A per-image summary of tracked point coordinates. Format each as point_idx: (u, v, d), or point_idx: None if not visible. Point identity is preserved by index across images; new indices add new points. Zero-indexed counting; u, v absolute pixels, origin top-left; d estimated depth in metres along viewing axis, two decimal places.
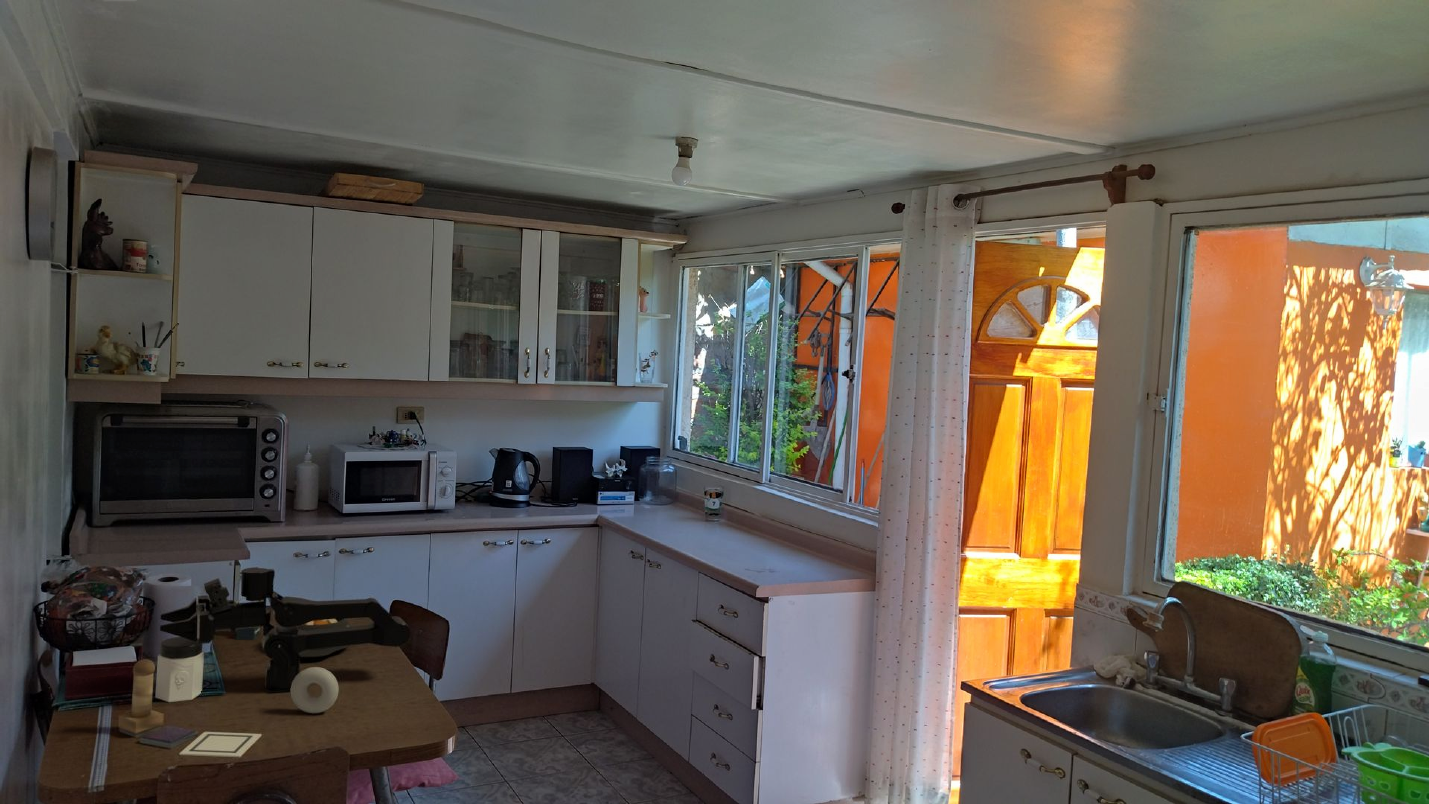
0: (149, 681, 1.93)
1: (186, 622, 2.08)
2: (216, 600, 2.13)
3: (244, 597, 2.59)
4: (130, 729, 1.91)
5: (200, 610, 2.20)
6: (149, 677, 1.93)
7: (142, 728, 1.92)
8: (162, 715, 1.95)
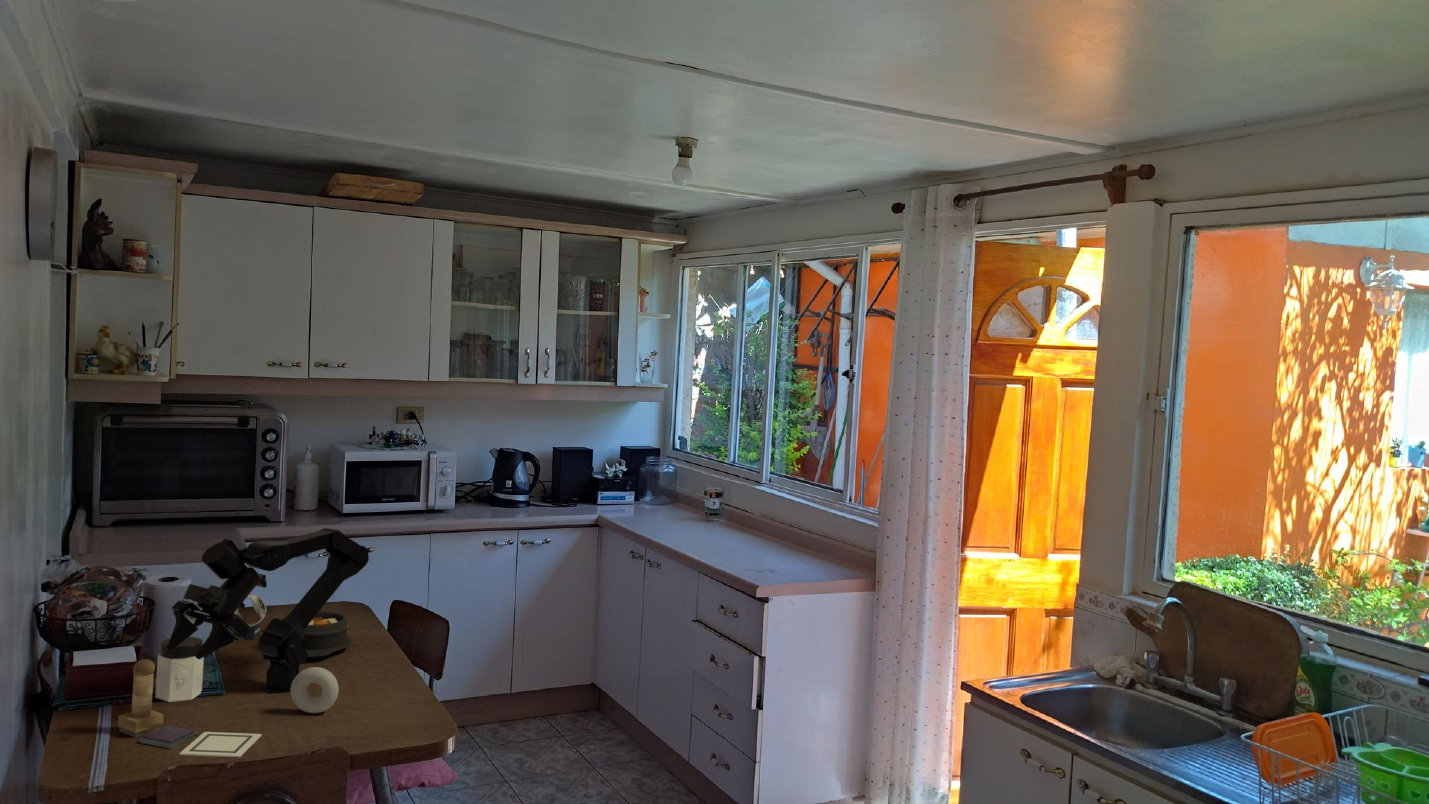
0: (149, 681, 1.93)
1: (215, 636, 2.01)
2: (217, 601, 2.03)
3: None
4: (130, 729, 1.91)
5: (190, 616, 2.08)
6: (149, 677, 1.93)
7: (142, 728, 1.92)
8: (162, 715, 1.95)
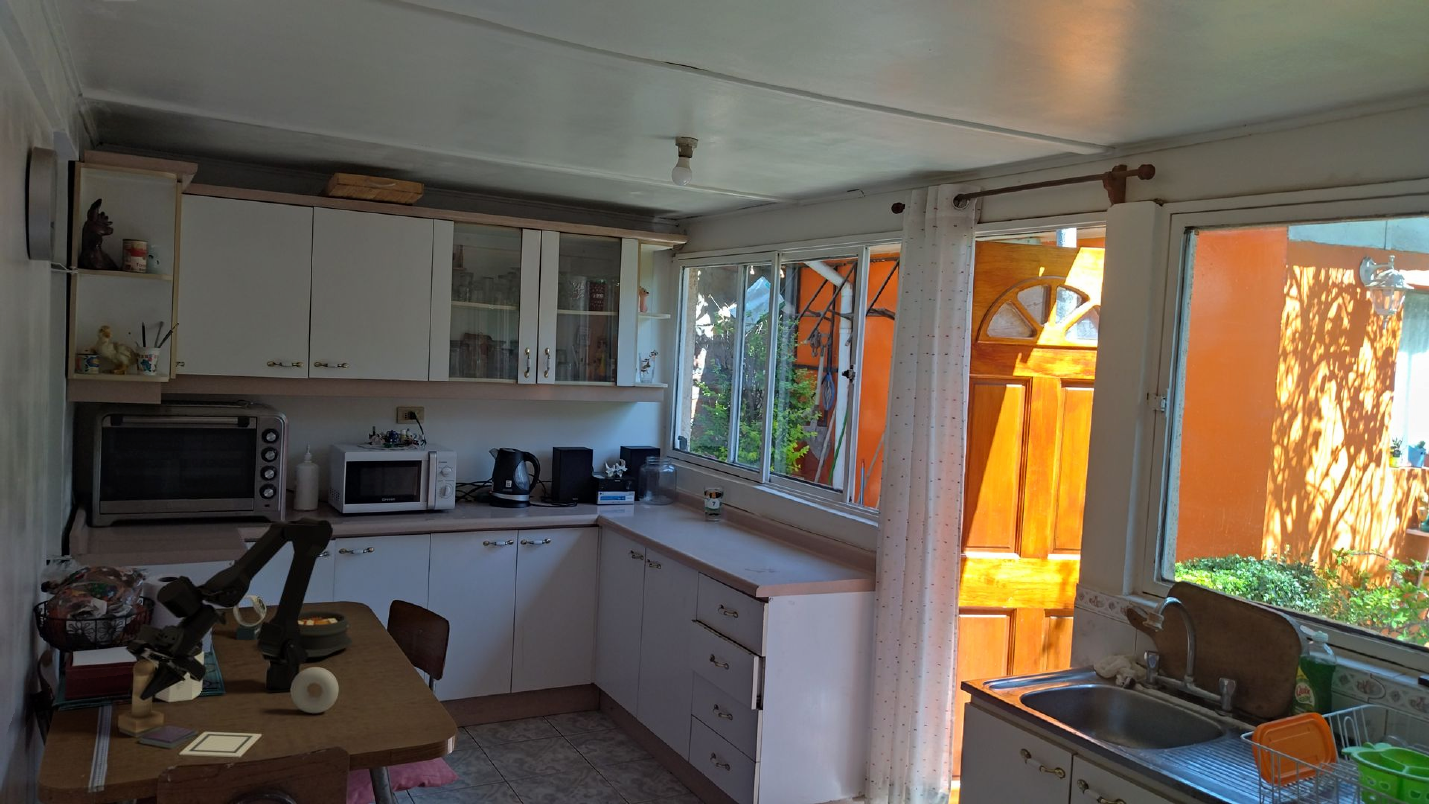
0: (149, 681, 1.93)
1: (161, 676, 1.93)
2: (171, 641, 1.94)
3: (244, 597, 2.59)
4: (130, 729, 1.91)
5: (154, 659, 1.98)
6: (149, 677, 1.93)
7: (142, 728, 1.92)
8: (162, 715, 1.95)
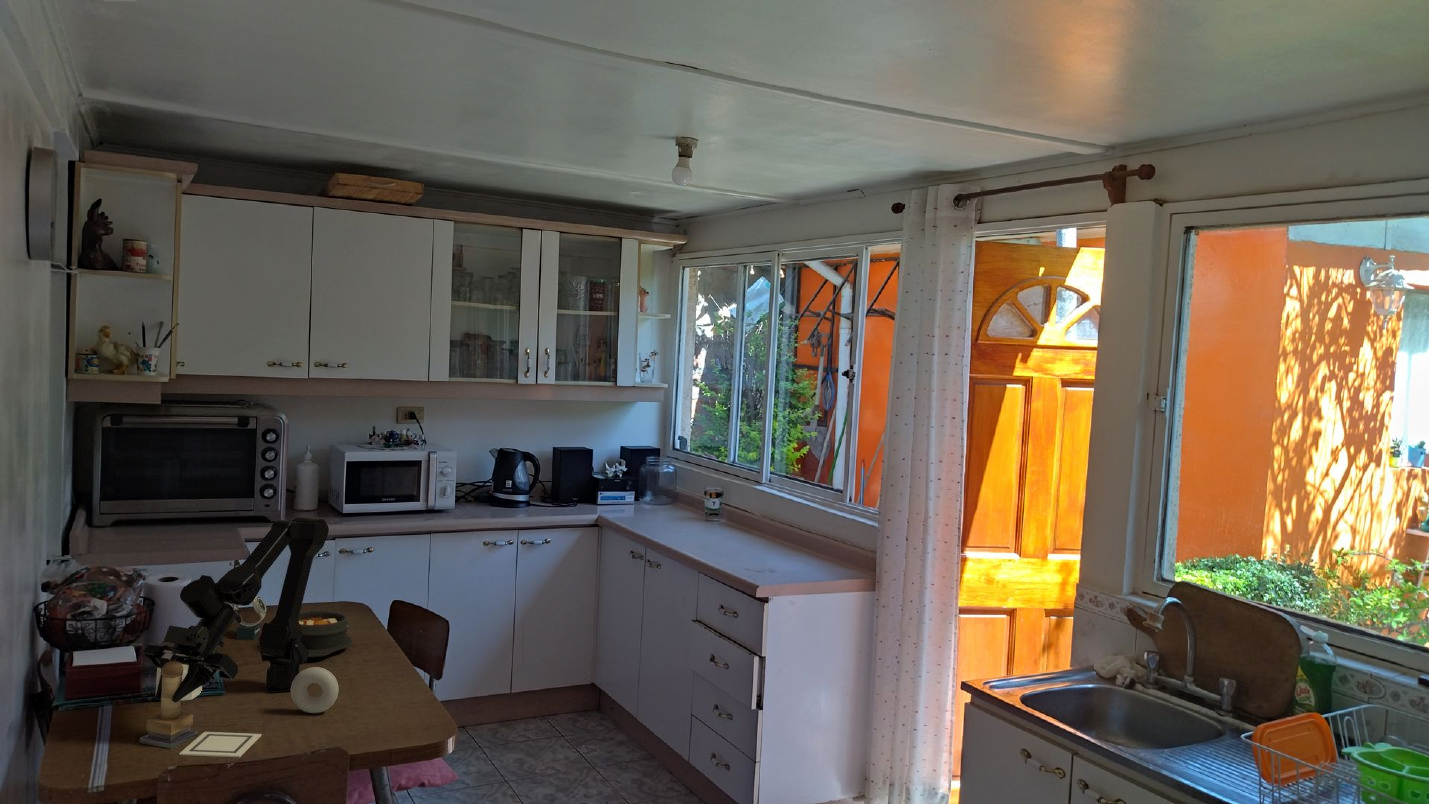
0: (180, 682, 1.91)
1: (192, 676, 1.91)
2: (203, 641, 1.92)
3: None
4: (163, 732, 1.88)
5: None
6: (179, 678, 1.90)
7: (176, 729, 1.89)
8: (192, 715, 1.93)
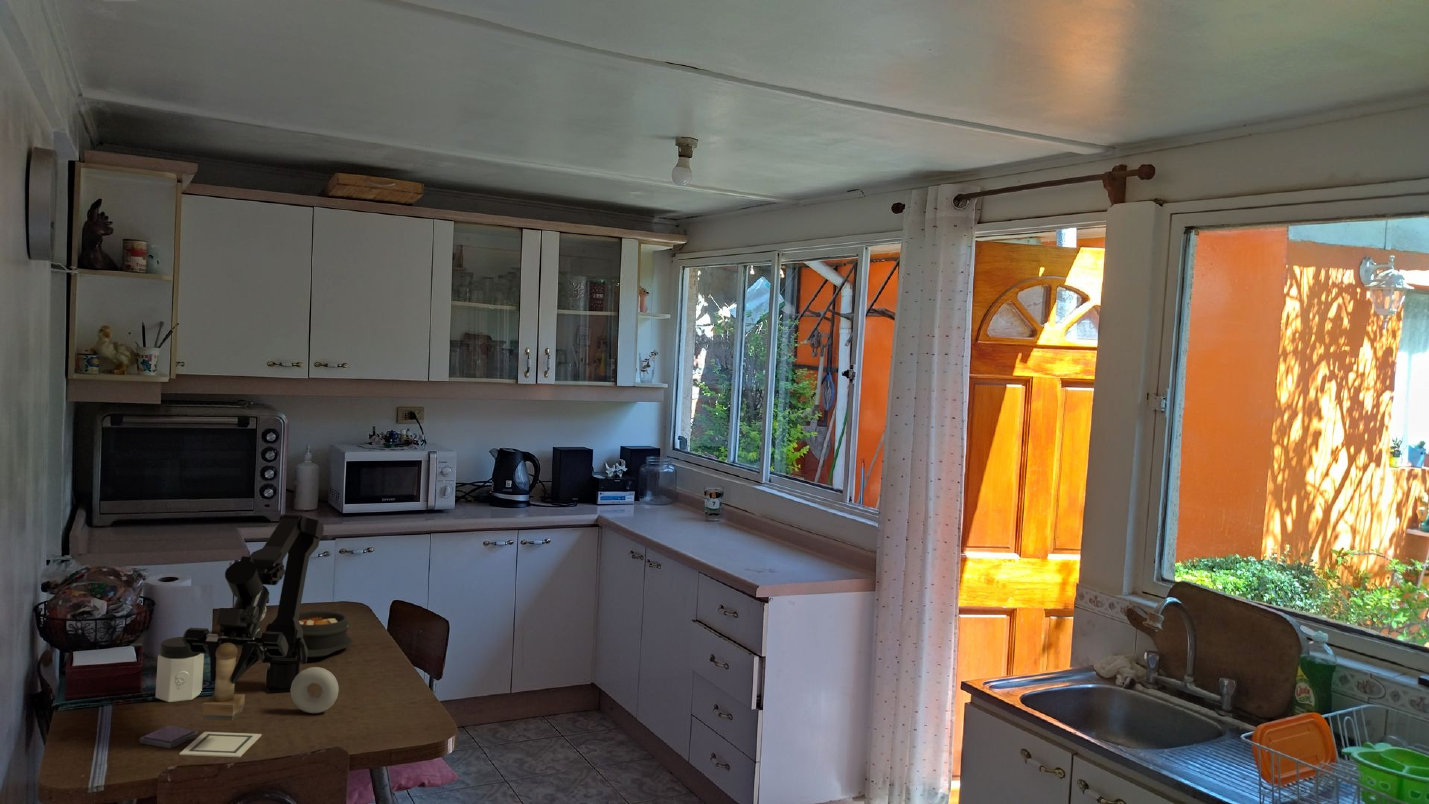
0: (235, 663, 1.90)
1: (248, 657, 1.91)
2: (256, 621, 1.93)
3: None
4: (223, 714, 1.88)
5: (221, 643, 1.93)
6: (235, 659, 1.90)
7: (235, 710, 1.89)
8: (244, 695, 1.93)
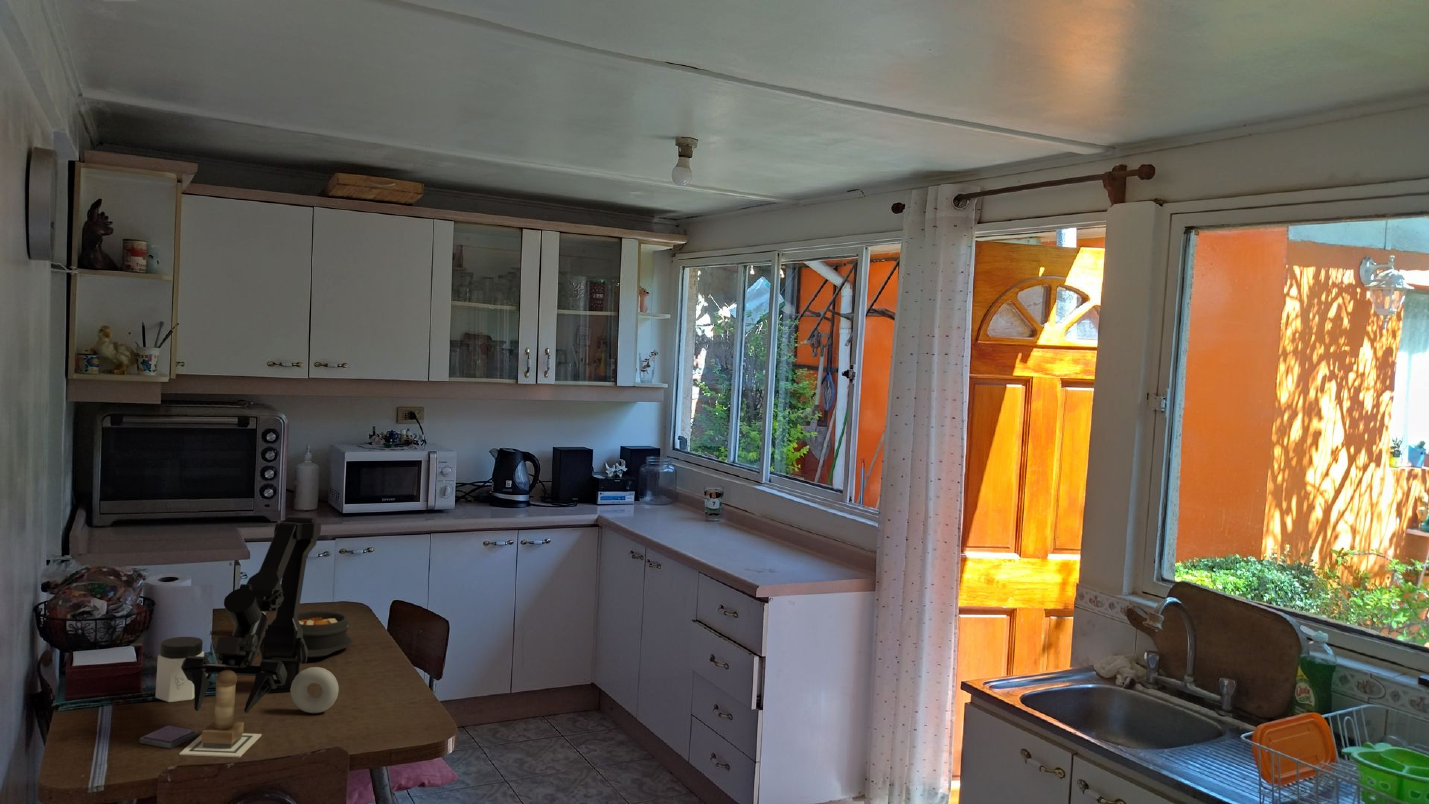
0: None
1: (261, 686, 1.92)
2: (255, 649, 1.93)
3: None
4: (222, 741, 1.88)
5: (205, 671, 1.93)
6: None
7: (234, 738, 1.89)
8: (243, 723, 1.93)
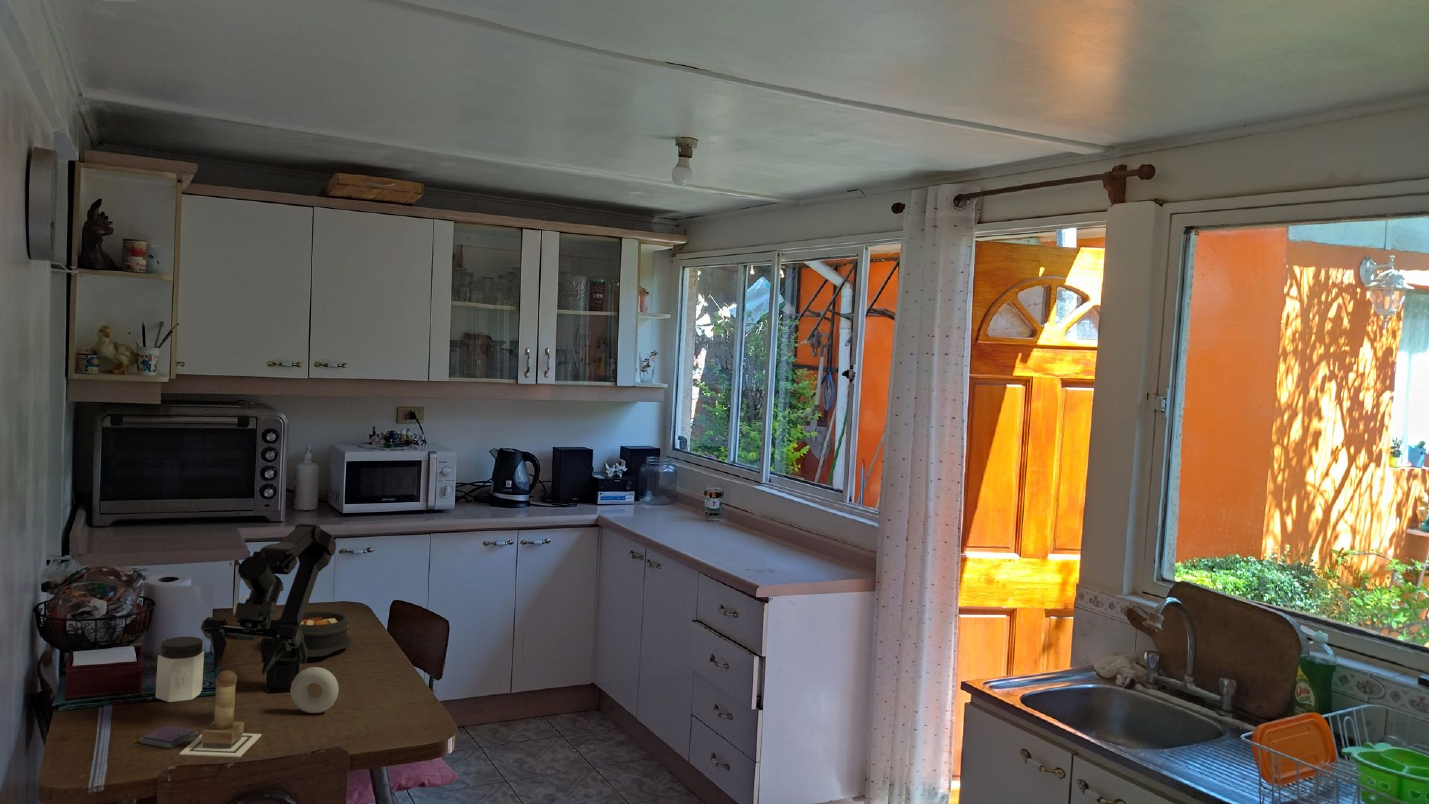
0: None
1: (277, 650, 2.02)
2: (272, 615, 2.02)
3: (244, 597, 2.59)
4: (222, 741, 1.88)
5: (224, 632, 2.03)
6: None
7: (234, 738, 1.89)
8: (243, 723, 1.93)
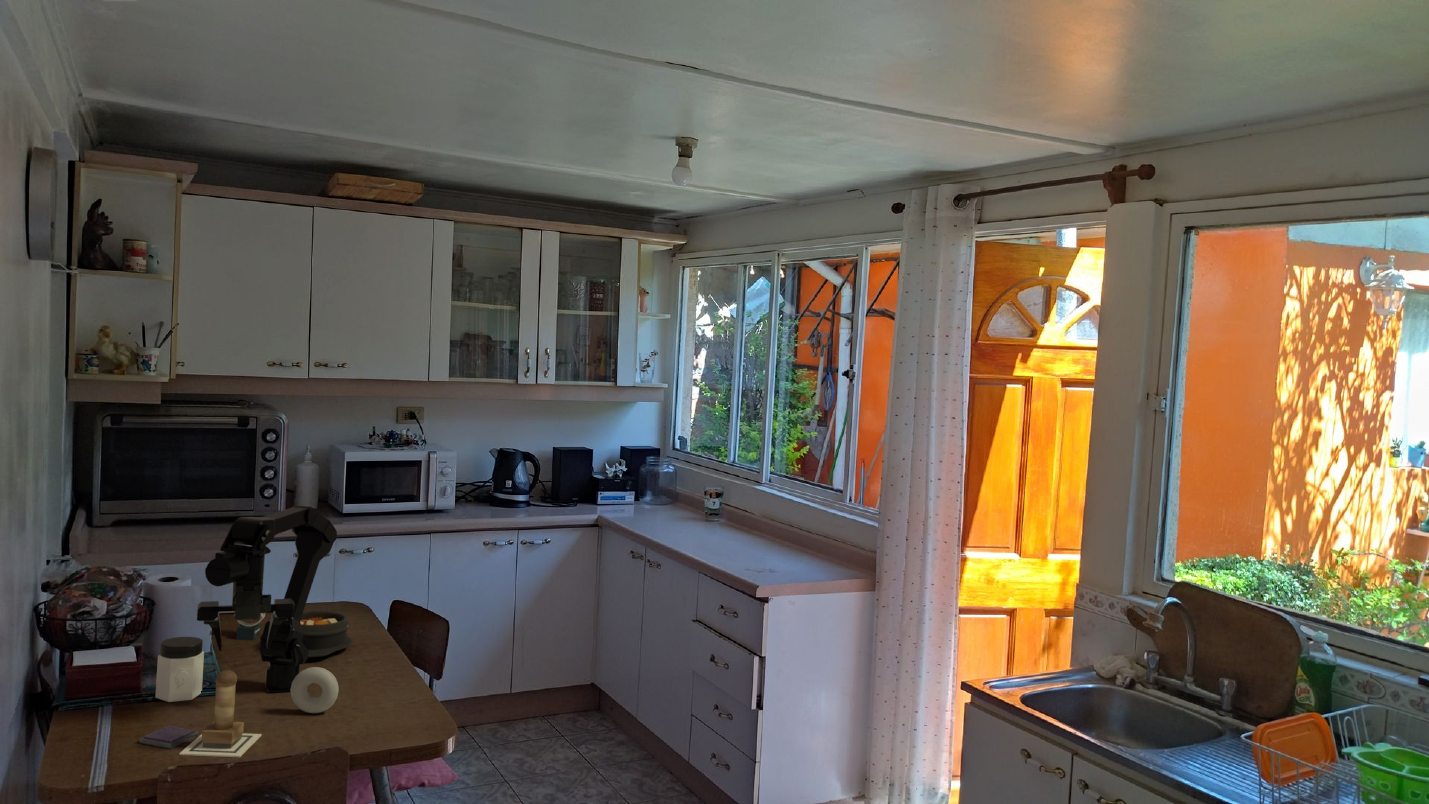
0: None
1: None
2: None
3: None
4: (222, 741, 1.88)
5: None
6: None
7: (234, 738, 1.89)
8: (243, 723, 1.93)
